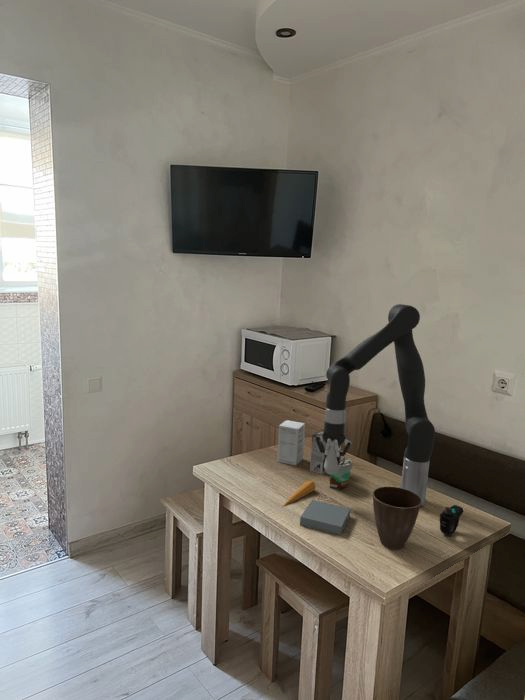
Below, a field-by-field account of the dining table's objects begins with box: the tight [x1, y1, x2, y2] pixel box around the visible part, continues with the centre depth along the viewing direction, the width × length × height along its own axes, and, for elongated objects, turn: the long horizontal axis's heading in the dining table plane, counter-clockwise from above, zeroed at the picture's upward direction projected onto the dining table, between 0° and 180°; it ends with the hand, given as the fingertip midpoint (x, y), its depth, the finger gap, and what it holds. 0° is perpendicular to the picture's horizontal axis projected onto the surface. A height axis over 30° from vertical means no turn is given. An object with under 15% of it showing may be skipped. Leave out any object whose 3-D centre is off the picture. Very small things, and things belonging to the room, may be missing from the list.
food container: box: [329, 456, 353, 490], centre depth 202 cm, size 12×6×10 cm, turn 143°
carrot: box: [281, 480, 316, 508], centre depth 191 cm, size 20×4×4 cm, turn 142°
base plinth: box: [299, 499, 351, 536], centre depth 175 cm, size 14×14×3 cm
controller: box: [439, 504, 464, 536], centre depth 171 cm, size 4×12×10 cm, turn 137°
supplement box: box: [276, 419, 306, 466], centre depth 225 cm, size 10×9×17 cm
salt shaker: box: [324, 440, 340, 475], centre depth 188 cm, size 6×6×13 cm
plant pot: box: [372, 486, 421, 550], centre depth 162 cm, size 15×15×16 cm
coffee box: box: [309, 429, 326, 475], centre depth 217 cm, size 9×6×16 cm
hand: (332, 464), depth 188 cm, fingers closed on salt shaker, 3 cm apart
